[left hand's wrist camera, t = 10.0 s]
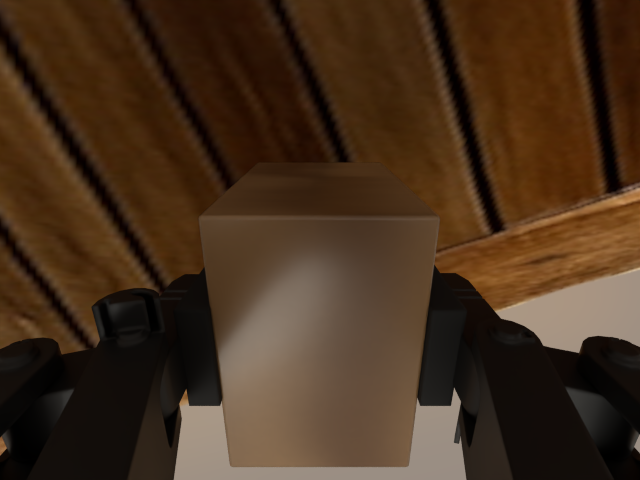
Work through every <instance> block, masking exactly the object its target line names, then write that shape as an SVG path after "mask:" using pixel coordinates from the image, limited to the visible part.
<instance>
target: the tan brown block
mask: <svg viewBox="0 0 640 480" xmlns="http://www.w3.org/2000/svg"><path fill="white" fill-rule="evenodd" d="M439 222H440V218H439V216H438V215H437V214H436V213H435V212H434V211H433V210H432V209H431V208H430V207H429V206H428V205H426V204H425V203H424V202H423V201H422V200H421V199H420V198H419V197H418V196H417V195H416V194H414V193H413V192H412V191H411V190H410V189H409V188H408V187H407V186H406V185H405V184H404V183H402V182H401V181H400V180H399V179H398V178H397V177H396V176H395V175H394V174H393V173H392V172H391V171H389V170H388V169H387V168H386V167H385V166H384V165H383V164H382V163H257V164H256V165H255V166H254V167H253V168H252V169H251V170H250V171H249V172H247V173H246V174H245V175H244V176H243V177H242V178H241V179H240V180H239V181H237V182H236V183H235V184H234V185H233V186H232V187H231V188H230V189H229V190H228V191H226V192H225V193H224V194H223V195H222V196H221V197H220V198H219V199H218V200H217V201H215V202H214V203H213V204H212V205H211V206H210V207H209V208H208V209H207V210H205V211H204V212H203V213H202V214H201V215H200V216H199V226H200V234H201V242H202V250H203V258H204V265H205V273H206V281H207V289H208V297H209V304H210V309H211V316H212V324H213V332H214V340H215V348H216V356H217V363H218V371H219V379H220V387H221V395H222V406H223V414H224V422H225V430H226V437H227V445H228V453H229V461H230V466H232V467H407V466H408V465H409V459H410V451H411V443H412V435H413V427H414V420H415V412H416V404H417V396H418V388H419V380H420V372H421V364H422V356H423V348H424V341H425V333H426V325H427V317H428V309H429V301H430V293H431V285H432V277H433V269H434V262H435V254H436V246H437V238H438V230H439Z"/></svg>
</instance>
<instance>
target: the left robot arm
mask: <svg viewBox="0 0 640 480" xmlns="http://www.w3.org/2000/svg"><path fill="white" fill-rule="evenodd" d="M92 311H93V315H94V318H95V322H96V326H97V330H98V333H99V337H100V341H99V343H98V345H97V347H96V348H93V349H89V350H83V351H78V352H73V353H68V354H63V355H62V354H61V351H60V348H59V345H58V343H57V342H56V341H55V340H53V339H49V338H34V339H26V340H22V341H18V342H15V343H12V344H10V345H9V346H7V347H4V348H2V349H0V437H1V436H2V438H3V440H4V442H5V445H6V447H7V449H6V450H5V451H4V452H3V453H2V454H1V456H0V480H174V473H175V465H176V458H177V450H178V443H179V435H180V428H181V420H182V418H181V411H180V405H179V403H180V401H181V399H182V396H183V394H184V392H185V390H186V389H187V395H188V401H189V406H220V404H221V401H222V395H221V387H220V379H219V371H218V363H217V356H216V348H215V340H214V332H213V324H212V316H211V309H210V304H209V297H208V289H207V281H206V273H205V267H204V268H203V270H202V271H201V272H200V274H185V275H183V276H181V277H179V278H178V279H176V280H174V281H173V282H171V284H170V285H169V286H168V287H167V288H166V290H165V292H163V293H162V294H161V295H160V297H159V293H157V292H156V291H154V290H152V289H147V288H133V289H128V290H122V291H119V292H116V293H113V294H110V295H108V296H106V297H104V298H102V299H100V300H98V301H97V302H96V303H95V304H94V305H93V306H92ZM454 388H455V390H456V392H457V394H458V396H459V398H460V400H461V405H460V411H459V416H458V422H457V427H456V433H455V439H454V443H458V444H459V441H460V436H461V442H462V449H463V457H464V464H465V472H466V479H467V480H640V453H639V452H638V451H637V450H636V449H635V448H634V445H635V443H636V441H637V439H638V436H639V434H640V347H638V346H636V345H634V344H632V343H630V342H628V341H625V340H622V339H621V340H619V339H618V338H613V337H603V336H594V337H588V338H587V339H585V340H584V341H583V343H582V346H581V349H580V352H579V353H576V352H571V351H565V350H560V349H555V348H550V347H546V346H543V345H542V343H541V341H540V339H539V338H538V337H537V336H536V335H535V333H534V332H532V331H531V330H529V329H528V328H526V327H525V326H523V325H520V324H518V323H515V322H513V321H508V320H504V319H501V318H500V317H499V316H498V315H497V314H496V312H495V311H494V310H493V309H492V308H491V307H490V305H489V304H488V303H487V302H486V301H485V299H482V296H481V295H480V294H479V292H478V291H476V289H475V288H474V287H473V285H472V284H471V283H470V282H469V281H468V280H466V279H465V278H463V277H461V276H460V275H458V274H456V273H440V272H439V271H438V269H437V268H436V267H435V265H434V269H433V277H432V285H431V293H430V301H429V309H428V317H427V325H426V333H425V341H424V348H423V356H422V364H421V372H420V380H419V388H418V396H417V398H418V400H419V403H420V406H451V402H452V396H453V390H454Z"/></svg>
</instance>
